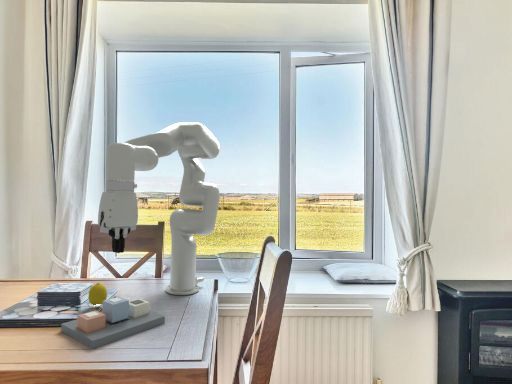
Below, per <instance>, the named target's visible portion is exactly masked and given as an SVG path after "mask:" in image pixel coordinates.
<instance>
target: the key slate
mask: <svg viewBox="0 0 512 384" xmlns="http://www.w3.org/2000/svg"><path fill="white" fill-rule="evenodd" d="M129 301H130V300H129V299H127V298H125V297H124V298H123V297H121V296H116V297H111V298H109V299H108V298H107V299H106V300H103V304H102V308H101V309H102V311H101V312H102V313H103V314H105V315H106V320H107V321H109V322H111V323H112V324H114V323H113V322H115V323H118V322H119V321H120V320H123V319H126V318H128V314H129ZM117 321H118V322H117Z"/></svg>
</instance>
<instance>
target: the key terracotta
mask: <svg viewBox="0 0 512 384" xmlns="http://www.w3.org/2000/svg"><path fill="white" fill-rule="evenodd" d="M101 312H102V311H98V310H96V309H95V310H92V311H89V312H85V313H80V314H78V315H77V329H79V330H81V331H83V332H85V333H89V332H92V331H96V330H99V329H102V328H105V321H106V315H105V314H103V313H101Z"/></svg>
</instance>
